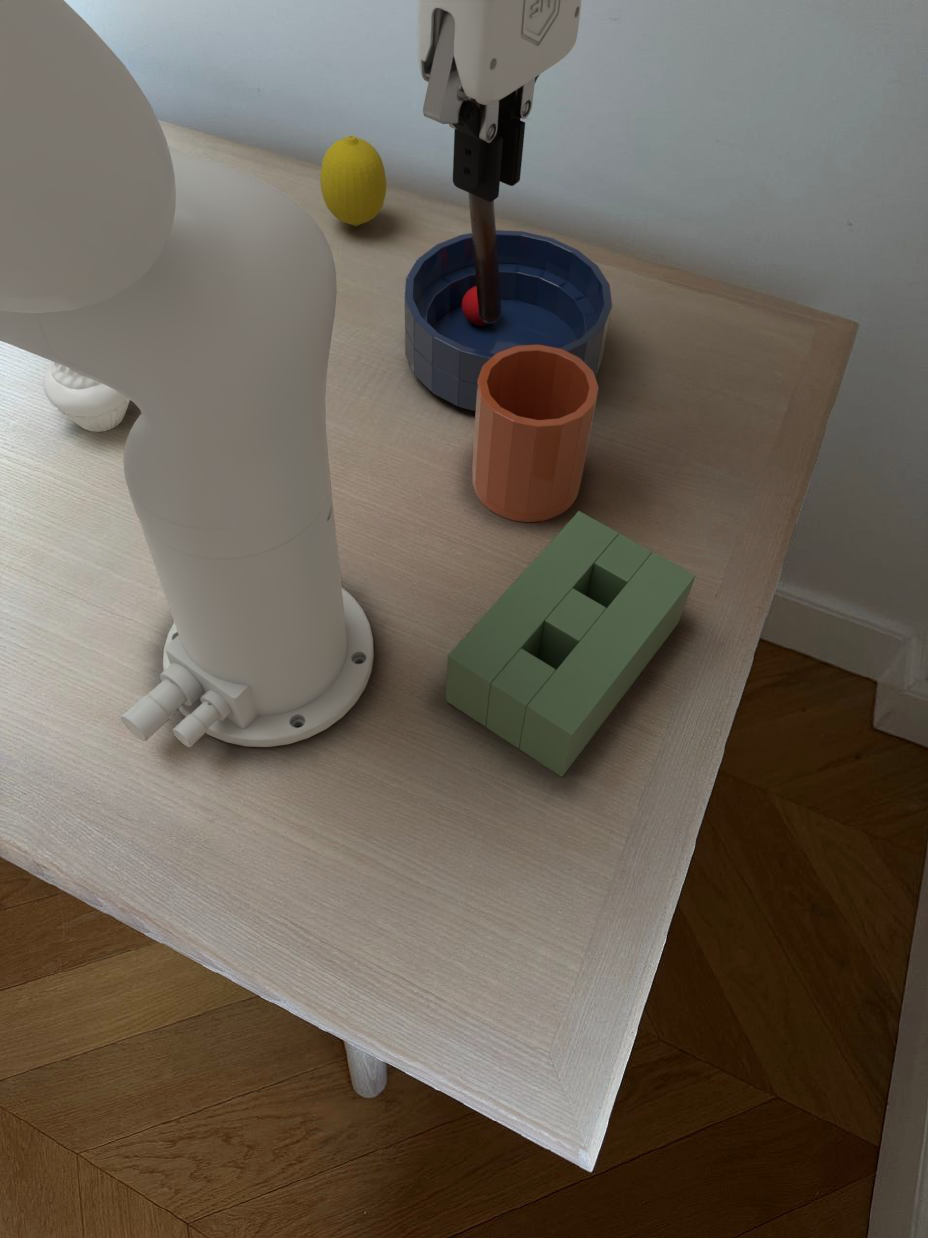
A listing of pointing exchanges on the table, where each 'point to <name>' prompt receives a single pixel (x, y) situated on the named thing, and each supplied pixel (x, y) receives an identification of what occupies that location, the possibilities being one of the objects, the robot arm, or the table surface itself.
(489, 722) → the holder
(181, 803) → the table surface
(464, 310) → the berry
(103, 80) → the robot arm
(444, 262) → the bowl
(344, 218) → the lemon
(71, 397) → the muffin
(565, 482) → the crock
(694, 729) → the table surface
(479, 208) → the stick
